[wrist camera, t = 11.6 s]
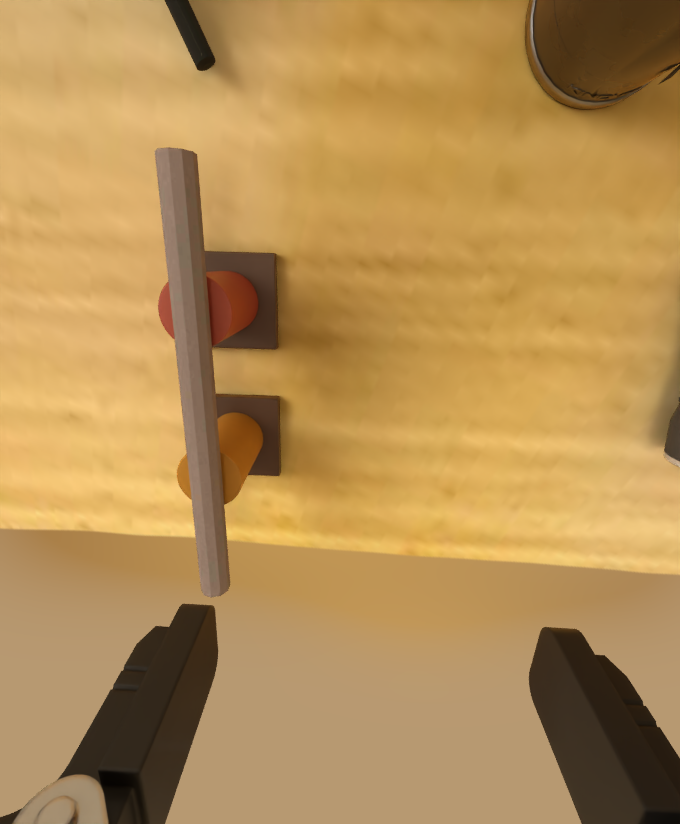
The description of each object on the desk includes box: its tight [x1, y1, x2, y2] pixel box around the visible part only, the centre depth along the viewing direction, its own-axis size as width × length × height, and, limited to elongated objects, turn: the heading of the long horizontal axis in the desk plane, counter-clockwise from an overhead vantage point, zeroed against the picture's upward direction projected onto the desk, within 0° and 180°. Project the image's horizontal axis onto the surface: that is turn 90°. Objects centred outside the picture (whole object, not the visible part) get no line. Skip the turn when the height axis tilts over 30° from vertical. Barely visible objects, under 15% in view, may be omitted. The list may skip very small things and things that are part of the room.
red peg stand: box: [158, 251, 278, 349], centre depth 29 cm, size 7×7×8 cm
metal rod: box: [155, 148, 230, 597], centre depth 26 cm, size 2×27×2 cm, turn 178°
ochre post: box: [177, 394, 281, 504], centre depth 32 cm, size 7×7×8 cm
